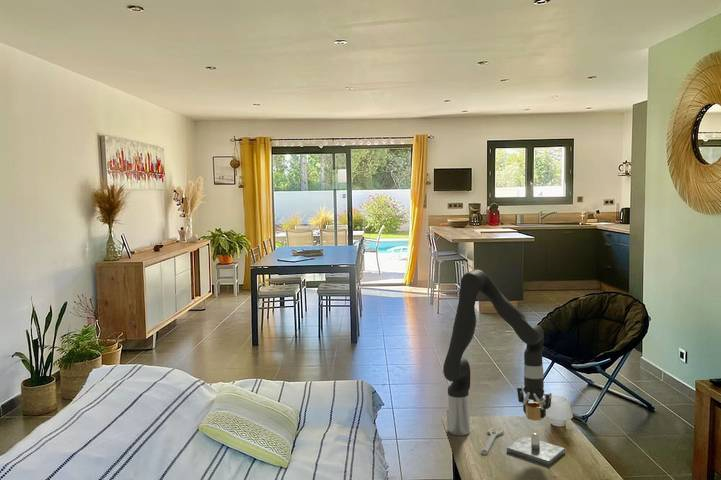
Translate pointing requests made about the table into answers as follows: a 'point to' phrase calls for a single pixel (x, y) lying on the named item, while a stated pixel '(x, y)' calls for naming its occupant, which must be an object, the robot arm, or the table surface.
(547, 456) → the block
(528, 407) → the wooden octagonal ring
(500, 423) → the table surface
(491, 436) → the adjustable wrench
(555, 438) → the table surface
